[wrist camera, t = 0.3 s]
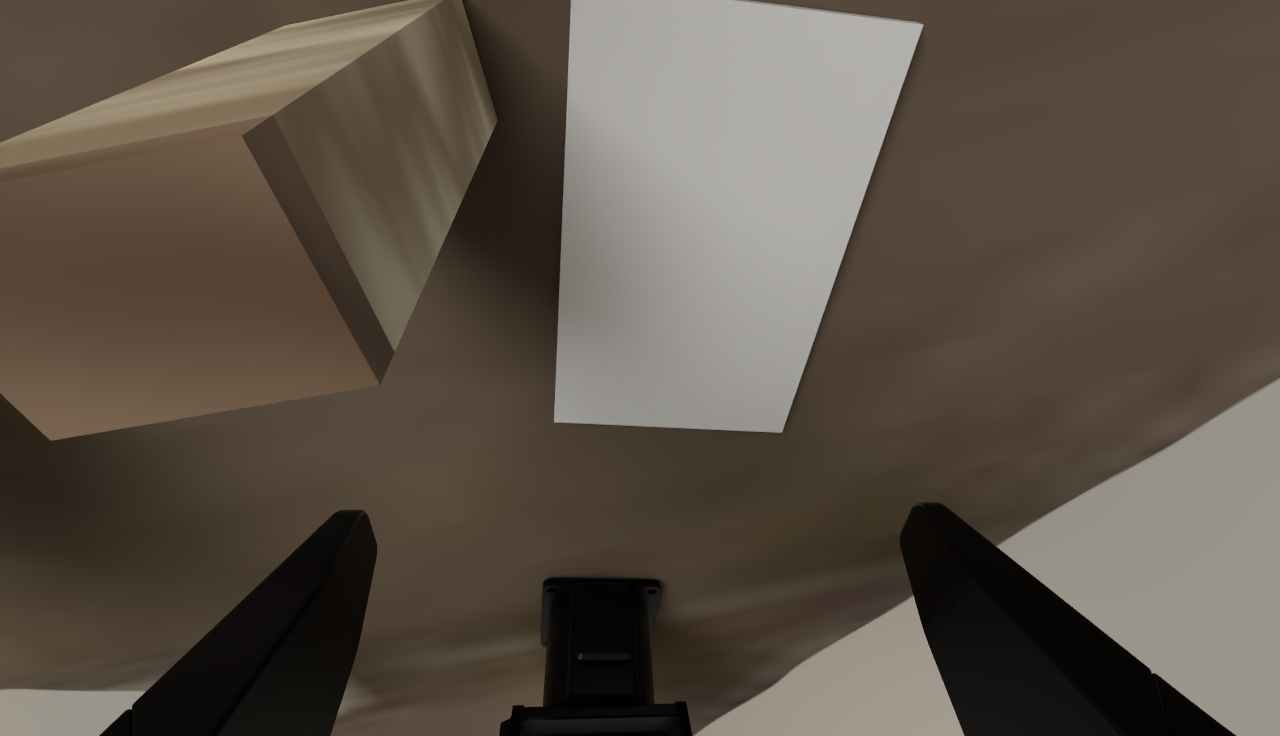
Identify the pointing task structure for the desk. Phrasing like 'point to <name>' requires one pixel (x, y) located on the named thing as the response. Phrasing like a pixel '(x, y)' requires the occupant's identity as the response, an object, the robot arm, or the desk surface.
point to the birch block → (238, 222)
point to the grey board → (710, 201)
